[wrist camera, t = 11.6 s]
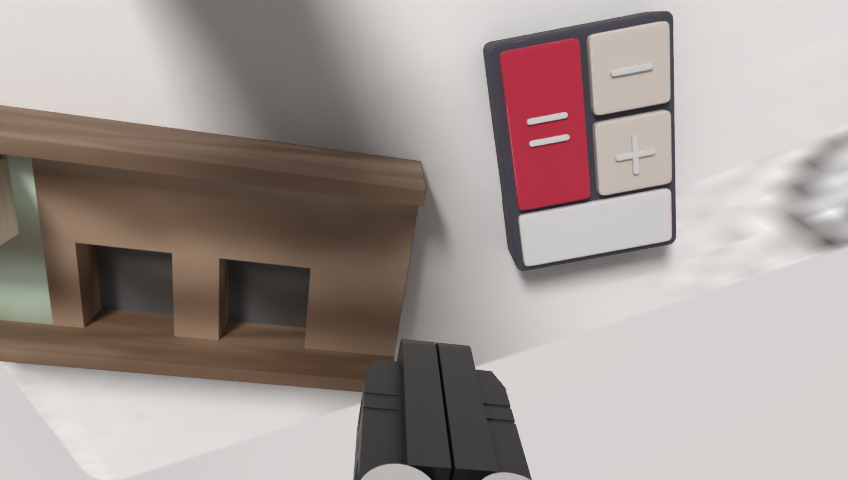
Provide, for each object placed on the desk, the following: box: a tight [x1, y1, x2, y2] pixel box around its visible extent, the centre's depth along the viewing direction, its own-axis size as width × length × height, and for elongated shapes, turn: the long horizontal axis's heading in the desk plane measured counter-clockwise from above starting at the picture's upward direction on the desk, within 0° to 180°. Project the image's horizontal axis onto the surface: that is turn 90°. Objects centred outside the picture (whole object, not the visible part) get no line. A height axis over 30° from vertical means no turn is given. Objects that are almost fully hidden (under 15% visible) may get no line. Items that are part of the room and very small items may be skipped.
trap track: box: [0, 105, 426, 392], centre depth 37 cm, size 15×31×6 cm, turn 81°
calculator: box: [483, 11, 676, 271], centre depth 37 cm, size 11×4×15 cm
